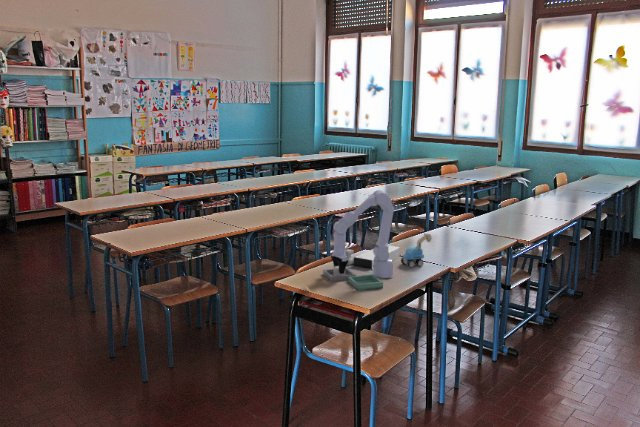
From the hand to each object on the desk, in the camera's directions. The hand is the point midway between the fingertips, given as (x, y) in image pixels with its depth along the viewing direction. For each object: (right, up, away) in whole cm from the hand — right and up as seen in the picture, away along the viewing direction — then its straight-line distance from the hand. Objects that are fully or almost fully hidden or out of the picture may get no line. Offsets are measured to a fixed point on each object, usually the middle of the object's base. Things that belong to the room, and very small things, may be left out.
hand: (339, 271), depth 283 cm
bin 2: (+12, -6, -11) cm, 17 cm away
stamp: (+6, +1, +24) cm, 25 cm away
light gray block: (0, -3, 0) cm, 3 cm away
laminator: (+23, +2, +30) cm, 38 cm away
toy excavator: (+44, +1, +25) cm, 50 cm away
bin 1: (0, -3, +1) cm, 4 cm away
